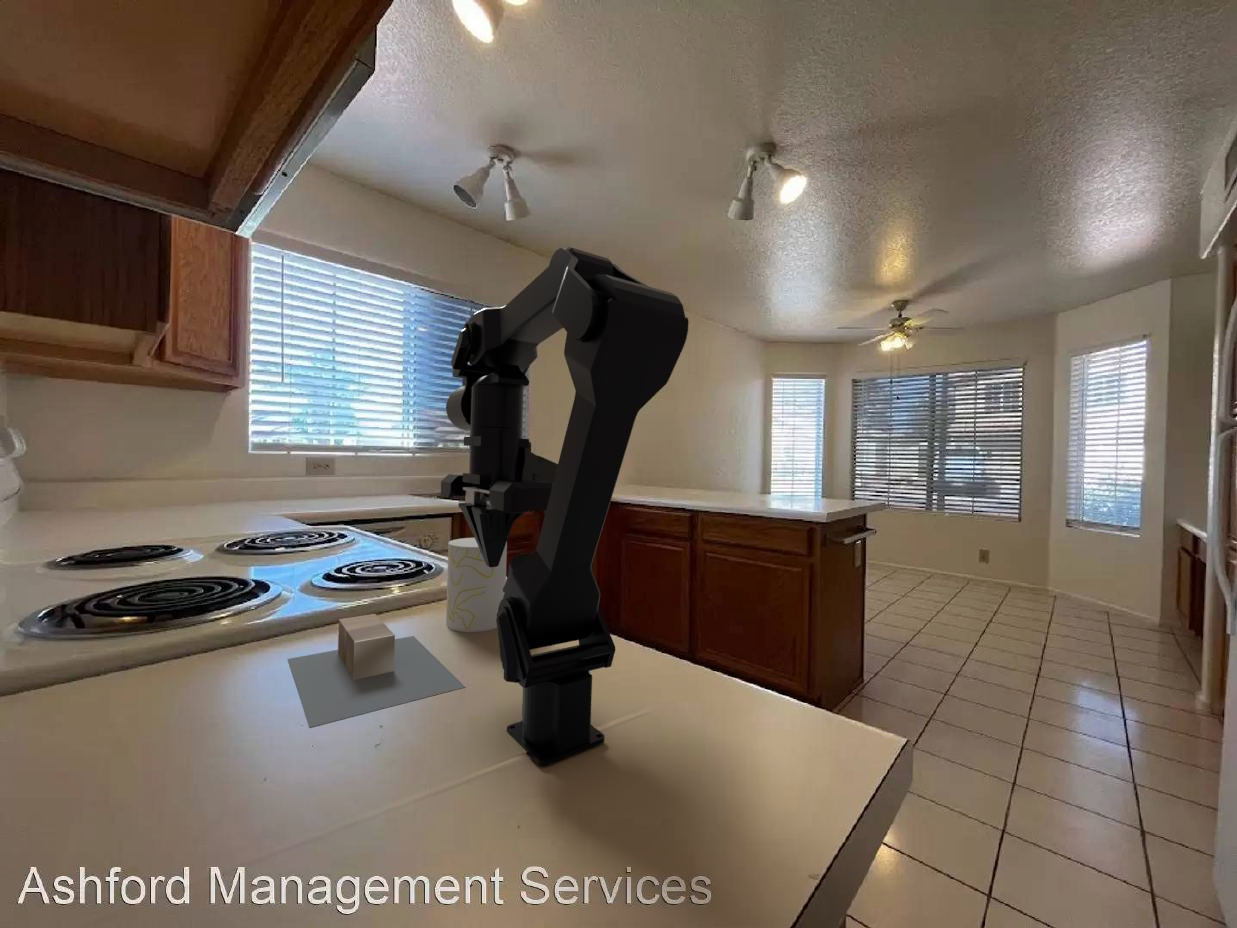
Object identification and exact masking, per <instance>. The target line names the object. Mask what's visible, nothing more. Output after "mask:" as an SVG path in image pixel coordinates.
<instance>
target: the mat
mask: <svg viewBox="0 0 1237 928" xmlns="http://www.w3.org/2000/svg"><path fill="white" fill-rule="evenodd" d="M287 663H288V665H289V669H290V670H291V674H292V679H293V681H294V684H295V687H296V690H297V694H298V695H299V699H300V703H301V705H302V708H303V711H304V716H305V718H306V721H307V724H308V727H309V728H308V729H312V728H315V727H319V726H322V725H327V724H330V723H331V724H332V723H334V722H335V723H336V722H338V721H341V720H346V719H349V718H353V717H357V716H361V715H362V716H363V715H365V714H369V713H372V712H377V711H380V710H383V709H388V708H391V707H392V708H393V707H396V706H399V705H404V704H407V703H410V702H415V701H419V700H422V699H426V698H430V697H434V696H438V695H442V694H445V693H449V692H453V691H457V690H460V689H465V688H466V686H465V684H463V683H462V682H461V681H460V679H458V678H457V677H456V676H455V675H454V674H453V673H452V672H451V671H450V670H449V669H448V668H447V667H446V666H445V665H444V664H443V663H442V662H441V661H440V660H439V659H438V658H437V657H436V656H434V654H433V653H432V652H431V651H429V649H427V647H425V646H424V644H423V643H421V642H420V640H418V639H417V638H416V636H414V635H409V636H405V637H399V638H395V648H394V671H392V672H388V673H383V674H379V675H374V676H369V677H365V678H360V679H356V680H354V679H353V678H352V676H351V674H350V672H349V671H348V669H347V667H346V666H345V664H344V662H343V660H342V659H341V657H340V655H339V653H338V649H336V650H330V651H324V652H319V653H313V654H307V655H301V656H297V657H291V658H287Z"/></svg>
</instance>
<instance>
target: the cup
mask: <svg viewBox="0 0 1237 928" xmlns="http://www.w3.org/2000/svg"><path fill="white" fill-rule="evenodd" d="M447 543H448V548H447V550H448V551H447V575H446V576H447V581H446V615H445V617H446V618H445V625H446V627H447V628H448V629H450V630H453V631H457V632H463V633H474V632H475V633H478V632H485V631H486V632H487V631H490V630H495V629H498V627H497V623H496V618H497V612H498V607H499V604H500V602H501V600H502V599H503V597H504V592H503V587H504V586H505V584H506V581H507V556H508V555H507V552H508V541H507V542H506V545H505V548H504V551H503V554H502V557H501V560H500V562H499V565H498V566H497V567H488V566H487V565H486V563H485V561H484V558H483V556H482V554H481V551H480V549H479V547H478V544H477V542H476V540H475V537H464V538H457V539H452V540H450V541H448V542H447Z"/></svg>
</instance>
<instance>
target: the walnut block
mask: <svg viewBox="0 0 1237 928" xmlns="http://www.w3.org/2000/svg"><path fill="white" fill-rule="evenodd" d="M337 638H338V639H337V640H338V643H337V650H338V653H339V655H340V657H341V659H342V660H343V662H344V664H345V666H346V667H347V669H348V671H349V672H350V674H351V676H352V678H353V679H354V680H356V679H360V678H365V677H369V676H374V675H379V674H383V673H388V672H392V671H394V648H395V639H396V636H395V633H393V631H392V630H391V629H390V628H389V626H387V625H386V624H385V623H384V621H382V620H381V618H380V617H379V616H378V615H377V614H376V613H371V614H365V615H358V616H351V617H345V618H339V619H338V637H337Z"/></svg>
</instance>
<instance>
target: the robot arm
mask: <svg viewBox="0 0 1237 928" xmlns="http://www.w3.org/2000/svg"><path fill="white" fill-rule="evenodd" d="M689 325H690V322H689V318H688V317H687V316H686V314H685V310H684V306H683V303H682V302H681V300H680V299H679V297H678V296H677V295H675V294H674V293H673V292H670V291H666V290H663V289H660V288H656V287H653V286H652V287H651V286H648V285H647V284H645V283H643V282H641V280H638V279H636V278H635V277H633V276H631V275H629V274H628V273H626V272H625V271H624V270H622V269H621V268H620V267H619V266H618V265H617V264H615V263H613V262H612V261H611V260H610V259H609V258H607V257H604V256H601V255H598V254H594V253H591V252H587V251H584V250H581V249H577V248H574V247H570V246H567V247H566V248H563V247H560V248H558V249H556V250H555V252H553V254H552V256H551V259H550V261H549V264H548V266H547V267H545V269H544V270H543V271H542V272H540V273H539V275H537V276H536V277H535V278H534V279H533V280H532V281H531V282H529V283H528V284H527V285H526V287H525V288H523V289H522V290H521V291H519V293H518V294H517V295H516V296H515V297H513V298H512V299H511V300H510V301H508V303H507V304H505V305H503V306H499V307H498V306H497V307H485V308H482V309H481V310H478V311H477V312H474V313H473V314H472V316H470V318H469V320H468V321H466V322H465V323H464V324H463V328H462V330H461V331H460V332H459V334H458V337H457V340H456V344H455V347H454V349H453V354H452V356H451V360H450V364H451V368H452V369H453V370H452V377H453V378H457V379H462V383H461V385H462V386H460V387H457V388H456V389H455V390H453V391H452V392H451V393H450V395H449V396H448V397H447V398H448V399H447V401H446V403H445V404H446V405H445V411H446V415H447V418H448V420H449V422H451V424H452V425H454V426H455V427H456V428H458V429H459V430H462V431H469V432H470V433H469V436H463V447H469V463H468V465H469V467H468V468H469V469H468V472H462V473H448V474H447V475H446V476H445V477H444V478H443V479H442V480H441V482H440V497H443V498H447V499H450V498H451V499H453V498H454V497H464V496H465V497H464V498H465V500H464V502H459V503H458V505H457V506H458V508H459V509H460V510H461V512H462V514H463V515H464V518H465V519H466V522H467V525H468V526H469V529H470V531H471V532H472V534H473V535H472V536H473V538H475V540H476V542H477V544H478V547H479V549H480V551H481V554H482V556H483V558H484V561H485V563H486V565H487V566H488V567H497V566H498V565H499V562H500V560H501V557H502V554H503V551H504V548H505V545H506V542H507V543H508V539H509V537H510V533H511V531H512V528H513V527H514V524H515V522H516V521H517V520H518V519H519V518H521V517H522V516H523V515H524V514H525V513H529V512H530V511H532V512H533V511H545V515H544V516H543V517H544V518H543V522H542V526H541V530H540V534H539V538H538V542H537V546H536V548H535V549H534V551H532V552H526V553H525V552H524V553H515V554H514V556H513V557H512V558H511V560H510V562H509V565H508V574H507V576H506V584H505V586H504V587H503V592H504V597H503V599H502V600H501V602H500V604H499V607H498V612H497V618H496V623H497V635H498V644H499V653H500V662H501V666H502V669H503V680H504V681H506V682H508V683H515V684H518V685H520V686H521V687H522V707H521V708H522V709H521V717H522V719H521V720H520V721H517V722H514V723H512V724H509V725H507V726H506V732H507V734H509V735H510V737H512V739H514V740H515V741H516V742H517V744H518V745H520V746H521V747H522V749H524V750H525V752H526V754H527V756H529V757H530V758H531V760H533V761H534V762H535V763H536V764H537V765H538V766H541V767H545V766H548V765H551V764H553V763H556V762H559V761H561V760H563V759H566V758H568V757H570V756H571V757H572V756H573V755H576V754H578V753H581V752H583V751H586V750H588V749H591V748H594V747H596V746H598V745H601V744H603V743H604V742H605V739H606V738H605V736H606V735H605V734H604V733H603V732H602V731H600V730H599V729H598V728H596V727H595V726H593V724H591V723H592V722H591V721H592V698H593V697H592V696H593V695H592V694H593V693H592V692H593V675H592V674H591V673H590V672H591V671H595V670H599V669H602V668H605V669H607V668H611V667H612V664H613V661H614V656H615V653H616V645H615V643H614V641H613V638H612V634H611V633H610V631H609V628H608V626H607V624H606V621H605V619H604V616H603V613H602V611H601V609H600V606H599V604H600V598H601V590H600V588H599V585H598V582H597V580H596V579H597V578H596V576H595V575H594V571H593V568H592V565H593V562H594V559H595V555H596V552H597V547H598V544H599V541H600V537H601V535H602V531H603V529H604V525H605V520H606V518H607V516H608V515H607V514H608V512H609V508H610V504H611V503H612V498H613V495H614V491H615V488H616V484H617V483H618V478H619V475H620V471H621V468H622V465H623V461H624V458H625V456H626V451H627V449H628V445H629V441H630V438H631V436H632V431H633V429H634V426H635V422H636V418H637V416H638V413H639V411H640V410H641V409H642V408H644V407H645V405H646V404H647V403H648V402H650V401H651V400H652V399H653V398H654V397H655V396H656V395H657V394H658V393H659V392H660V391H661V390H662V389H663V388H664V387H665V386H666V385H667V383H668V382H669V380H670V378H671V376H672V374H673V371H674V370H675V367H676V364H677V363H678V361H679V358H680V356H681V354H682V352H683V350H684V347H685V344H686V342H687V339H688V334H689ZM562 329H564V330H565V332H566V337H565V343H564V349H563V355H564V359H565V363H566V365H567V368H568V371H569V375H570V378H571V380H572V384H573V387H574V390H575V393H574V400H573V404H572V407H571V412H570V415H569V418H568V424H567V427H566V430H565V436H564V438H563V439H564V440H563V443H562V447H561V451H560V454H559V460H558V462H557V463H556V462H554V461H552V460H549V459H547V458H544V457H543V456H540V455H537V454H535V453H533V452H532V442H531V441H530V439H529V438H523V424H524V423H523V422H524V420H523V419H524V418H523V417H524V392H525V391H524V390H525V389H524V388H526V387H528V386H529V385H530V380H529V378H528V377H527V375H526V374H527V372H528V370H529V369H530V366H531V365H532V364H533V362H534V361H536V360H537V358H538V346H539V345H541V344H542V343H543V342H544V341H546V340H547V339H549V338H550V337H552V336H553V335H554V334H556V333H558V332H559V331H560V330H562ZM575 641H578V645H573V646H568V647H562V648H559V649H553V650H549V651H545V652H544V651H543V652H540V653H534V654H532V652H531V651H532V650H536V649H537V650H538V649H541V648H542V649H543V648H546V647H551V646H556V645H561V644H566V643H569V642H570V643H571V642H575Z"/></svg>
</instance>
